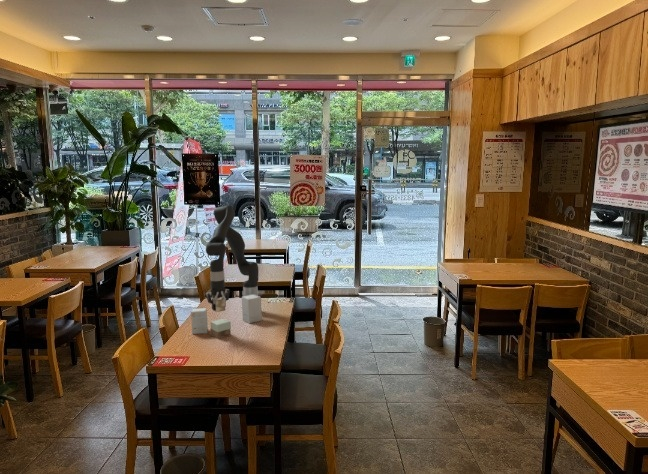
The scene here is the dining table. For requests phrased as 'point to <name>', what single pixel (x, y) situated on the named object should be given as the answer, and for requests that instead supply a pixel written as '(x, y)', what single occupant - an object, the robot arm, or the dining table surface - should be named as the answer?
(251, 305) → the supplement box
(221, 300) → the maple block
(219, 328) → the sage slab
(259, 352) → the dining table surface
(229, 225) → the robot arm
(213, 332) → the walnut slab
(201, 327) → the small box
